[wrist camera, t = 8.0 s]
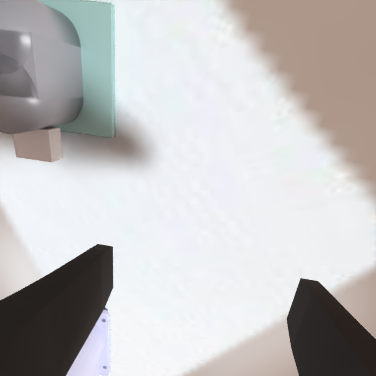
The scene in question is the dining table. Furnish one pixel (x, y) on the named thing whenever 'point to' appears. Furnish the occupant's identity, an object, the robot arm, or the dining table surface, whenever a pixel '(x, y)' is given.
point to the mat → (93, 65)
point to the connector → (38, 77)
